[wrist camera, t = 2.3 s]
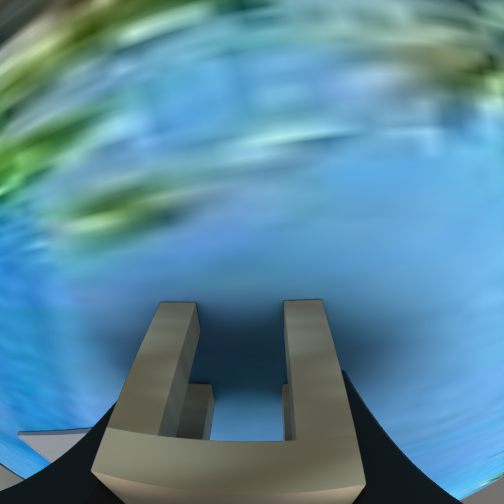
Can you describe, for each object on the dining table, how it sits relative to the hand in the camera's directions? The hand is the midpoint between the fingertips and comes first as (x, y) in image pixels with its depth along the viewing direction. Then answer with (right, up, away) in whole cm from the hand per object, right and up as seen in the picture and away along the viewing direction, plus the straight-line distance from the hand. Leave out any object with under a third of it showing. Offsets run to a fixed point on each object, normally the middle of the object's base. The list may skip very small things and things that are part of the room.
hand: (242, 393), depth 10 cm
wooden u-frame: (0, +1, +1) cm, 2 cm away
